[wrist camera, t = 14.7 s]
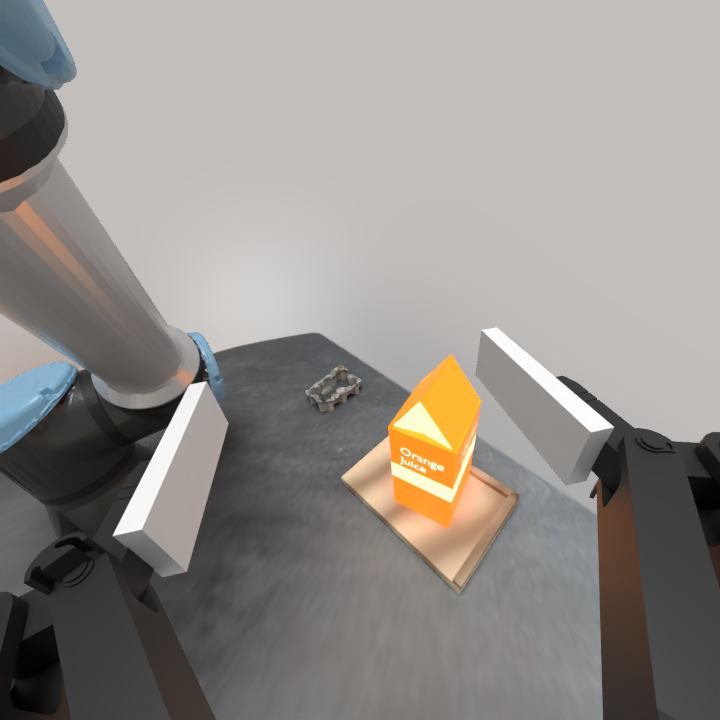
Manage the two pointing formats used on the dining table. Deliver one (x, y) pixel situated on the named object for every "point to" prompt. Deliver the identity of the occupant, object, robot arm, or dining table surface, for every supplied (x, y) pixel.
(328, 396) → the egg carton
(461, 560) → the serving board
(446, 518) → the orange juice
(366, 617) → the dining table surface
